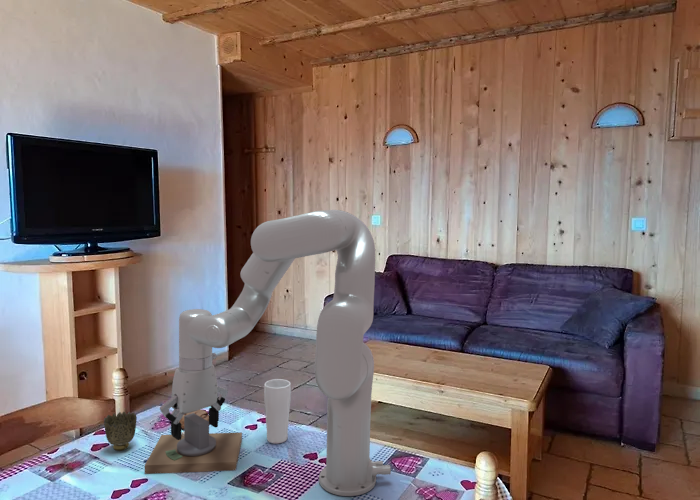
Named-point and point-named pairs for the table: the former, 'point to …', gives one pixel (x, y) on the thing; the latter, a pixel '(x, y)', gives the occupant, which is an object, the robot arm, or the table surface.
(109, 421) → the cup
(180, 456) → the wooden board
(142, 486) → the table surface
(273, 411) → the drinking glass
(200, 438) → the tuning knob
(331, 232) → the robot arm
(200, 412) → the cookie
